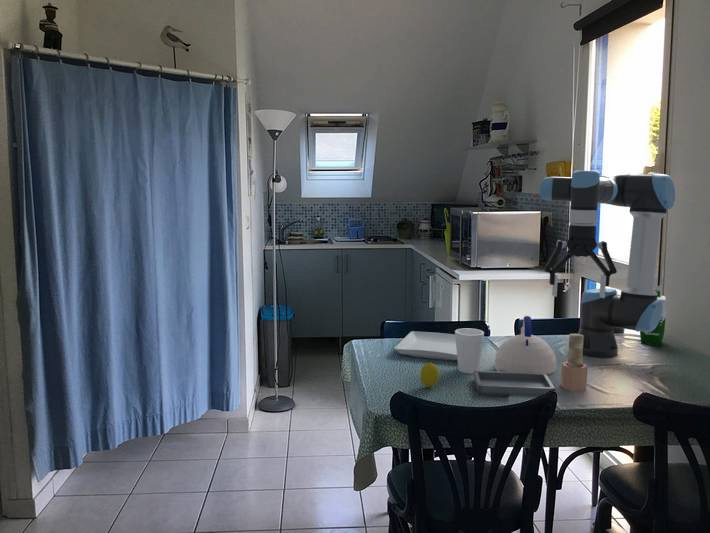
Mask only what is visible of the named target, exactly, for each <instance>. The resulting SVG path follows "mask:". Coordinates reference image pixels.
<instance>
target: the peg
mask: <svg viewBox="0 0 710 533" xmlns="http://www.w3.org/2000/svg"><path fill="white" fill-rule="evenodd" d="M583 338H584V336H583V335H581V334H578V333H569V335H568V349H567V350H568V351H567V353H568V354H567V361H568V366H572V367H582V363H583Z"/></svg>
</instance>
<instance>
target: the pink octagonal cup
mask: <svg viewBox="0 0 710 533" xmlns="http://www.w3.org/2000/svg"><path fill="white" fill-rule="evenodd" d="M588 367H589V366H588V365H587V364H586V363H583V362H582V367H572V366H568V360H566V361H564V362H561V370H560V371H561V372H560V386H561V388H562V389H564V390H567V391H571V392H583V391H585V390H587V386H588V385H587V382H588Z"/></svg>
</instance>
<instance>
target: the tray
mask: <svg viewBox="0 0 710 533" xmlns="http://www.w3.org/2000/svg"><path fill="white" fill-rule="evenodd" d="M473 382H474V386H475V390H476V394H477V396H484V397H508V398H511V395H510V394H512V395H529V396H530V395H533V396H535V395H536V396H543V395H542V394H544V393H546V392H548V391H555V392H556V387H555V386H554V384H553V382H552V381H551V379H550V378H549V376H548V374H544V373H518V372H506V371H500V372H499V371H491V370H490V371H489V370H488V371H487V370H478V371H474V373H473Z"/></svg>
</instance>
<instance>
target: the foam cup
mask: <svg viewBox="0 0 710 533" xmlns="http://www.w3.org/2000/svg"><path fill="white" fill-rule="evenodd" d="M454 335H455V339H456V349H457V360H458V361H457V366H458V367H457V368H458V371H459V372H460V373H464V374H474V371H479V366H480V361H481V360H480V359H481V355H482V349H483V343H484V341H485V340H484V339H485V338H484V337H485V331H483V330H481V329H477V328H470V327H469V328H466V327H465V328H457V329H456V330H454Z"/></svg>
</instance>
